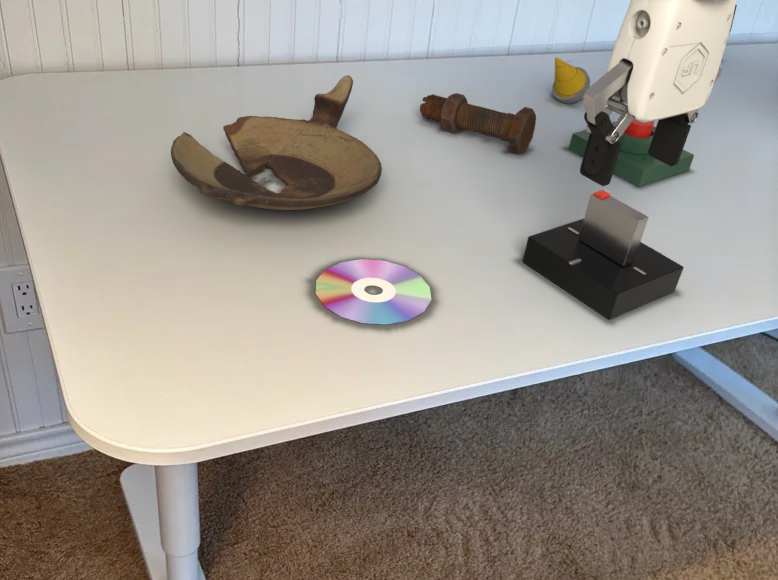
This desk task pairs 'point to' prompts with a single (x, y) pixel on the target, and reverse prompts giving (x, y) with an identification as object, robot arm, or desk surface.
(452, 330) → the desk surface
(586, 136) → the release box
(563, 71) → the yellow spiral cone
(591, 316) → the desk surface
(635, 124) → the release button
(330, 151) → the broken bowl
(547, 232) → the black lever switch box
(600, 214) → the gray slab
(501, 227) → the desk surface
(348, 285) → the cd
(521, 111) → the bolt
